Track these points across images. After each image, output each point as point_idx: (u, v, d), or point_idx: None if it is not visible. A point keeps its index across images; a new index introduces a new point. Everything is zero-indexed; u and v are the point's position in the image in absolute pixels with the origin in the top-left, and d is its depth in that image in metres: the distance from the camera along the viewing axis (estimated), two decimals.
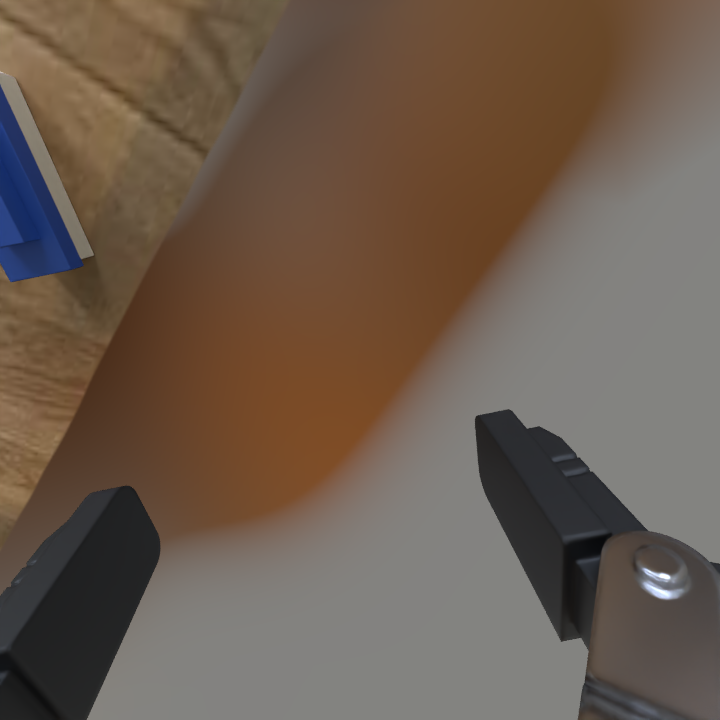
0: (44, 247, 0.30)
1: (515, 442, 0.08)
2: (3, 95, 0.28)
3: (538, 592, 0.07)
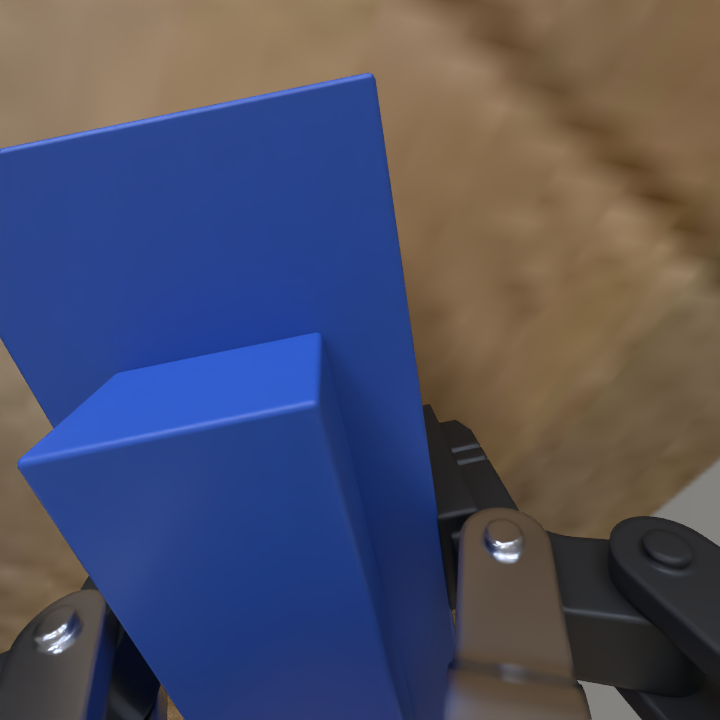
0: None
1: None
2: None
3: None
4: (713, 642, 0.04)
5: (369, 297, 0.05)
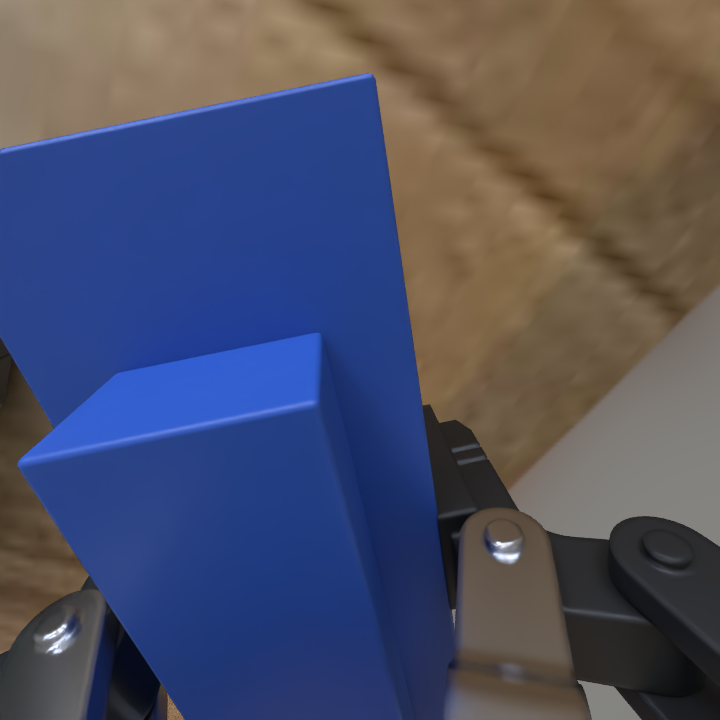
0: None
1: None
2: None
3: None
4: (713, 642, 0.04)
5: (369, 298, 0.05)
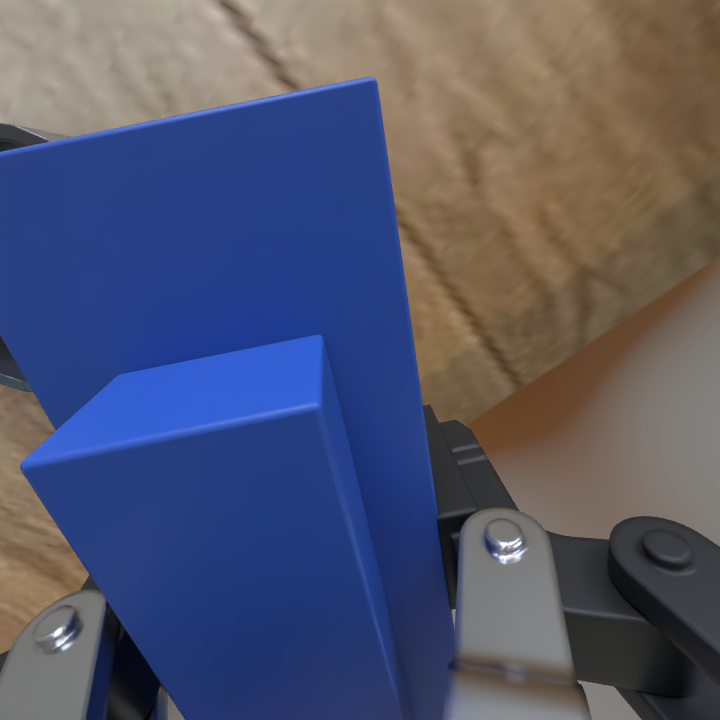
0: None
1: None
2: None
3: None
4: (713, 642, 0.04)
5: (371, 301, 0.05)
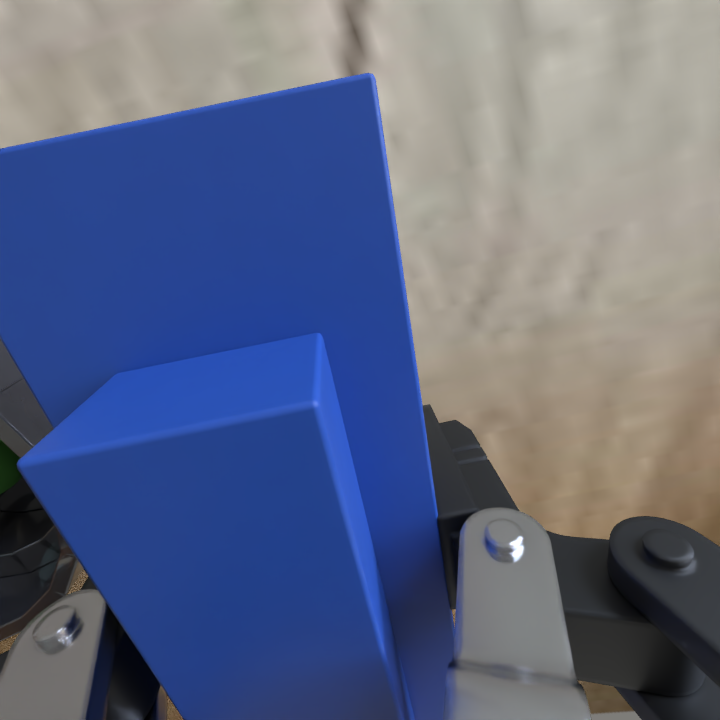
0: None
1: None
2: None
3: None
4: (713, 642, 0.04)
5: (370, 298, 0.05)
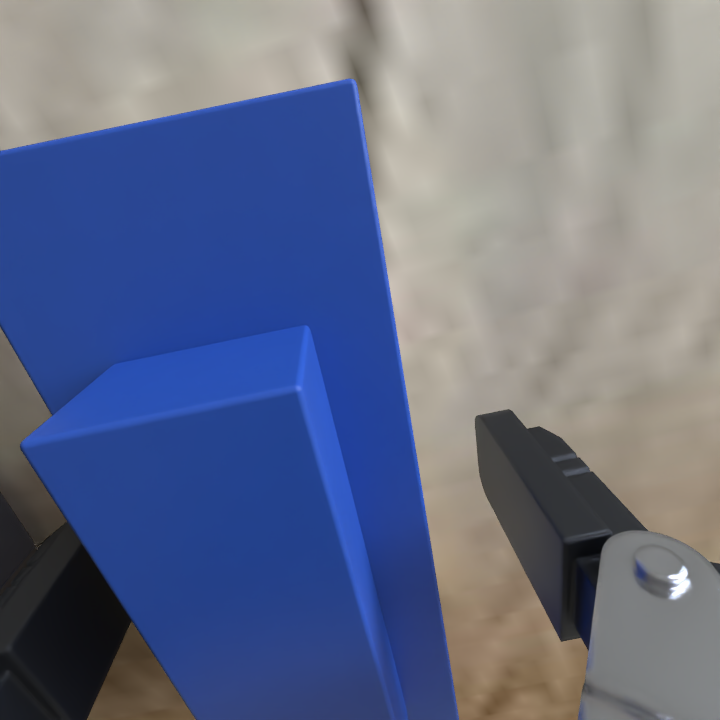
0: None
1: (515, 442, 0.08)
2: None
3: (539, 593, 0.07)
4: None
5: (355, 291, 0.05)
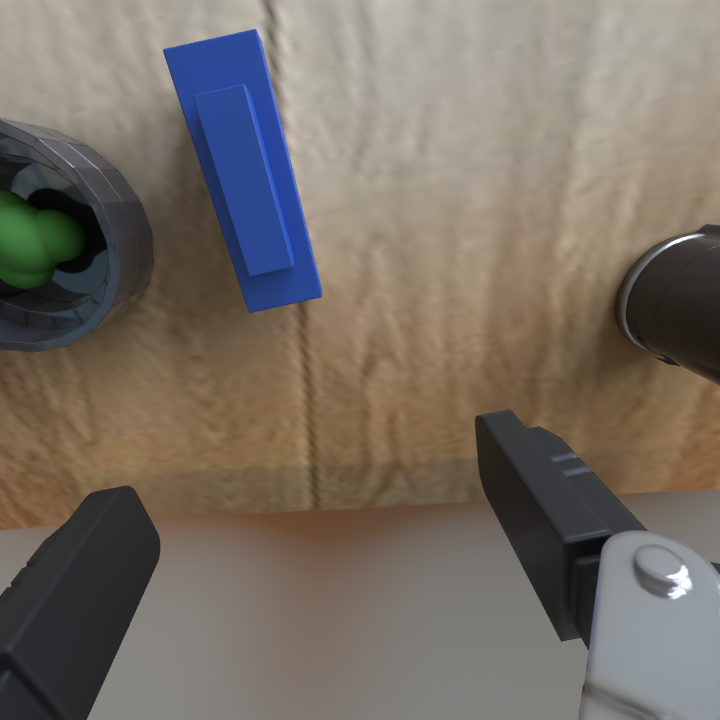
0: (297, 271, 0.25)
1: (515, 442, 0.08)
2: None
3: (538, 592, 0.07)
4: None
5: (260, 82, 0.21)
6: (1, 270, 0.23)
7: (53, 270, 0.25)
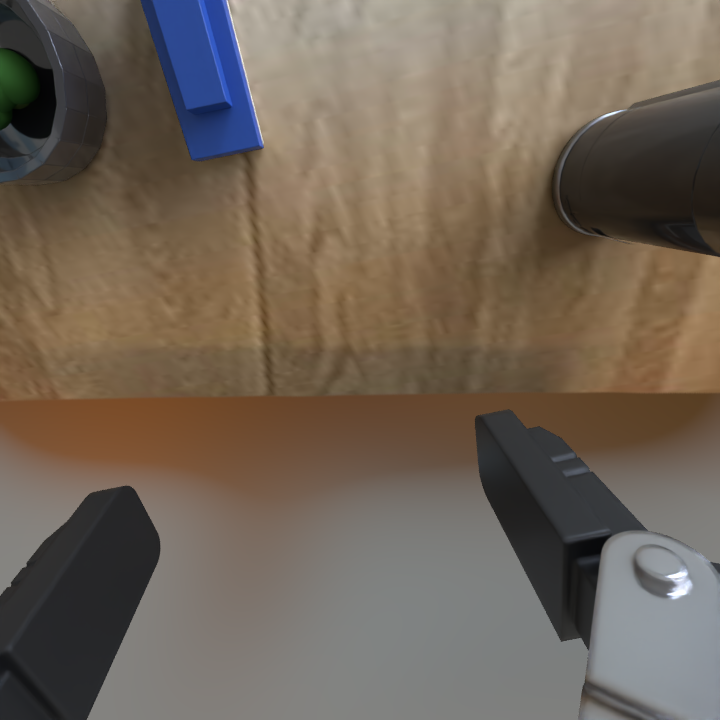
0: (235, 117, 0.27)
1: (515, 442, 0.08)
2: None
3: (538, 592, 0.07)
4: None
5: None
6: None
7: (10, 114, 0.27)
